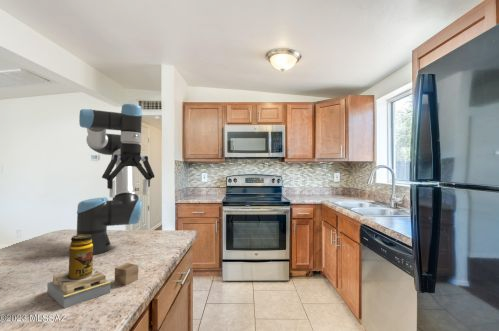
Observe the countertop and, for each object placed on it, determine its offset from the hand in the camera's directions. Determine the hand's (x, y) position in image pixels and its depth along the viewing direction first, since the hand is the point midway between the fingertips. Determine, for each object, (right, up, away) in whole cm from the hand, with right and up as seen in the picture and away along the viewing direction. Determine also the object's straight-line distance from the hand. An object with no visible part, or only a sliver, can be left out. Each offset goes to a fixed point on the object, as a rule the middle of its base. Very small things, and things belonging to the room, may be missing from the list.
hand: (129, 196), depth 106 cm
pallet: (-3, -23, -27) cm, 35 cm away
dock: (-3, -26, -27) cm, 37 cm away
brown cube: (+7, -26, -18) cm, 33 cm away
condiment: (-3, -21, -27) cm, 34 cm away
